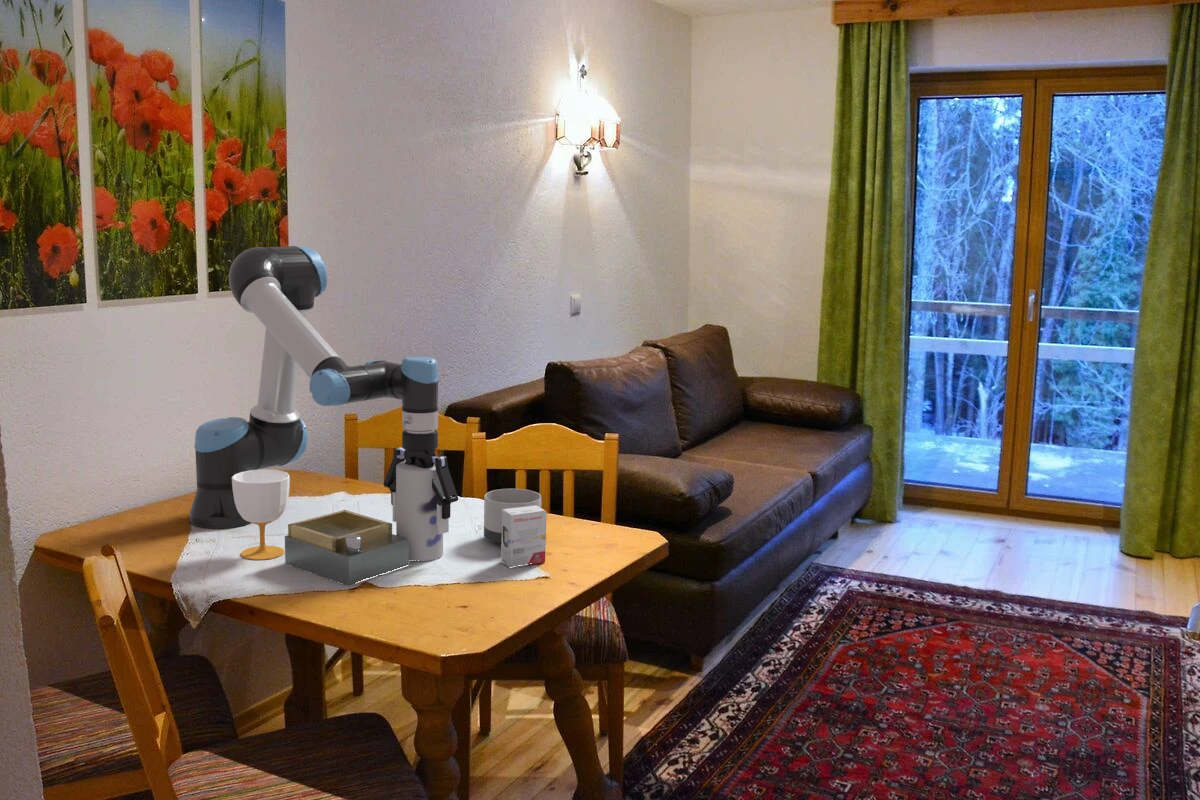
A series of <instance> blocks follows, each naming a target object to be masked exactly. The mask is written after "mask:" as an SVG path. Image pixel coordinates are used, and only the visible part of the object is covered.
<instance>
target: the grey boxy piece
mask: <svg viewBox="0 0 1200 800" xmlns="http://www.w3.org/2000/svg"><path fill="white" fill-rule="evenodd" d="M287 531H288V532H287V535H284V551H285V552H284V560H285V561H284V562H285V563H284V564H285V565H287V566H290V567H293V568H296V569H299V570H302V571H304V570H305V571H304V572H307V571H308V573H310V572H311V573H310V574H312V575H316V576H318V575H319V576H318V577H321V576H322V578H324V577H325V579H327V578H328V580H330V579H331V580H330V581H332V582H333V581H334V582H335V581H336V583H338V582H339V584H341V585H344V586H348V587H351V586H354V585H356V584H355V583H356V582H358V581H361V580H363V579H366V578H370V577H373V576H376V575H379V574H382V573H386V572H388V571H392V570H394V569H397V568H400V567H403V566H406V565H409V564H410V561H409V539H407V538H404V537H401V536H397V535H396V534H393V523H392V522H388V521H386V520H380V519H378V518H374V517H370V516H367V515H364V514H360V513H358V512H353V511H350V510H347V509H343V510H338V511H336V512H331V513H328V514H327V513H326V514H324V515H320V516H315V517H312V518H307V519H304V520H301V521H296V522H293V523H290V524H289V523H288V524H287ZM353 584H354V585H353Z"/></svg>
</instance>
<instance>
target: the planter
mask: <svg viewBox="0 0 1200 800" xmlns="http://www.w3.org/2000/svg"><path fill="white" fill-rule="evenodd" d="M483 497H484V498H483V499H484V503H483V504H484V505H483V506H484V507H483V509H484V510H483V537H484V538H485V539H487V541H490V542H492V543H495V544H497V545H500V546H501V540H502V509H509V508H518V507H527V506H535V505H537V506H538V507H540V508H542V495H541V493H539V492H536V491H533V490H530V489H524V488H522V489H521V488H501V489H499V488H498V489H494V490H491V491H488V492H485V494H484V496H483Z"/></svg>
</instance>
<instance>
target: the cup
mask: <svg viewBox="0 0 1200 800" xmlns="http://www.w3.org/2000/svg"><path fill="white" fill-rule="evenodd" d="M290 478H291V476H290V474H289V473H288V472H286V471H282V470H277V469H259V470H250V471H245V472H241V473H238V474H235V475H234V476H233V477H232V488H233V495H234V501H235V505H236V508H237V511H238V512H239V514H240V515H241V517H242V518H243V519H244V520H246V521H248V522H251V523H250V524H254V525H258V527H259V546H252V547H248V548H245V549H243V550H242V551H241V552H240V556H241V558H244V559H246V560H251V561H266V560H268V561H269V560H273V559H277V558H279V557H282V556H283V555H285V548H282V547H280V546H276V545H266V538H265V537H266V535H265V534H266V525H268V524H271V523H273V522H275V521H277V520H279V518H281V517H282V515H283V513H284V512H285V511H286V509H287V505H288V502H289V496H290V484H291V483H290ZM281 555H282V556H281Z"/></svg>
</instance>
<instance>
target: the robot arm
mask: <svg viewBox="0 0 1200 800" xmlns="http://www.w3.org/2000/svg"><path fill="white" fill-rule="evenodd" d="M328 277H329V276H328V270H327V267H326V265H325V262H324V260H323V258H322V256H321V255H320V254H319V253H318V252H317V251H316V250H314V249H312V248H311V247H307V246H297V245H292V246H266V247H264V246H256V247H251V248H248V249H246V250H244V251H242V252H241V253H239V254H238V255H237V256H236V257H235V259H234V260H233V261H232V264H231V265H230V268H229V273H228V284H229V288H230V291H231V294H232V295H233V298H234V299H235V301H236V302H237V304H238V305H239V306H240V307H241V308H242V309H243V310H244V311H245V312H246V313H250V314H253V315H255V317H256V318H257V319H258V320H259V321H260V322H261V324H263V326H264V327H265V333H264V340H263V341H264V342H263V350H262V352H263V353H262V360H261V370H260V380H259V389H258V398H257V404H256V405H254V406H253V407H251V409H250V411H249V421H247V419H246V418H243V417H235V416H231V417H230V416H229V417H223V418H215V419H212V420H209V421H206V422H204V423H202V424H201V425H199V426H198V428H197V429H196V431H195V438H194V449H195V471H196V472H195V474H196V475H195V476H196V491H195V494H194V498H193V501H192V504H191V508H190V509H189V522H190V524H191V525H193V526H196V527H200V528H206V529H229V528H230V529H231V528H235V527H241V526H246V525H248V524H252V523H251V522H248V521H246V520H244V519H243V518H242V517H241V515H240V514H239V512H238V511H237V508H236V505H235V501H234V495H233V488H232V477H233V476H234V475H235V474H238V473H241V472H245V471H250V470H265V469H268V468H269V469H270V468H273V467H283V466H286V465H287V464H291V463H294V462H296V461H298V460H299V459H300V458H301V457H302V456H303V455H304V454H305V452H306V449H307V446H308V441H309V433H308V430H306V429H307V426H306V423H305V422H304V420H303V419H302V418H301V413H300V412H299V411H298V410H297V408H296V399H297V391H298V383H299V374H300V368H301V370H303V372H305V374H306V375H307V376H308V378H310V380H309V385H308V386H309V393H311V395H312V396H311V397H312V400H313V401H314V402H315V403H316V404H318V405H320V406H322V407H331V406H333V407H335V406H336V407H337V406H338V407H339V406H342V405H346V404H347V405H348V404H351V403H358V402H363V401H364V402H365V401H371V400H377V399H384V398H391V399H397V400H401V410H402V411H401V414H402V416H401V417H402V419H401V420H402V421H401V423H402V425H401V426H402V427H401V428H402V429H403V431H402V432H401V447H396V448H394V449H393V457H392V461H391V463H390V466H389V468H388V471H387V474H386V477H385V479H384V482H383V486H384V488H388V489H389V491H390V504H391V506H392V522H394V523H396V465H397V464H399V463H401V462H404V461H406V462H405V464H408V465H411V464H412V465H416V466H418V467H420V468H424V469H425V468H429V467H433V466H435V468H436V472H437V475H438V479H432V489H433V491H434V492H435V494H436V496H437V498H438V500H439V502H440V503H438V504H437V534H439V535H440V534H443V535H444V534H446V533H448V532H449V527H450V524H449V520H450V518H451V504H452V503H454V502H455V503H456V502H457V501H459V496H458V493H457V489H456V487H455V485H454V481H453V478H452V475H451V473H450V469H449V463H448V458H447V456H445V455H442V456H437V454H436V451H437V448H438V446H439V432H438V431H437V429H439V379H440V377H439V368H438V362H437V360H436V359H435V358H433V357H432V356H431V357H430V356H423V355H422V356H407V357H404V358H403V359H402V361H401V363H398V362H397V363H396V362H392V361H391V362H390V361H386V360H383V359H381V360H375V359H373V360H369V361H366V363H365V364H362V365H353V366H349V365H348V364H346V362H345V361H344V360H343V359H342V358H341V357H340V356H339V355H338V354H337V352H336V351H335V350H334V349H333V347H332V346H331V345H330V344H329V343H328V342H327V341H326V340H325V339H324V338H323V336H321V335H320V333H319V332H318V331H317V330H316V329H315V328H314V327H313V325H312V324H311V323H310V322H309V321H308V320H307V319H306V316H307V314H308V313H309V312H311V310H313V309H314V306H315V298H317V297H318V298H319V296H321V295H323V293H324V292H325V291H326V288H327V285H328Z"/></svg>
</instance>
